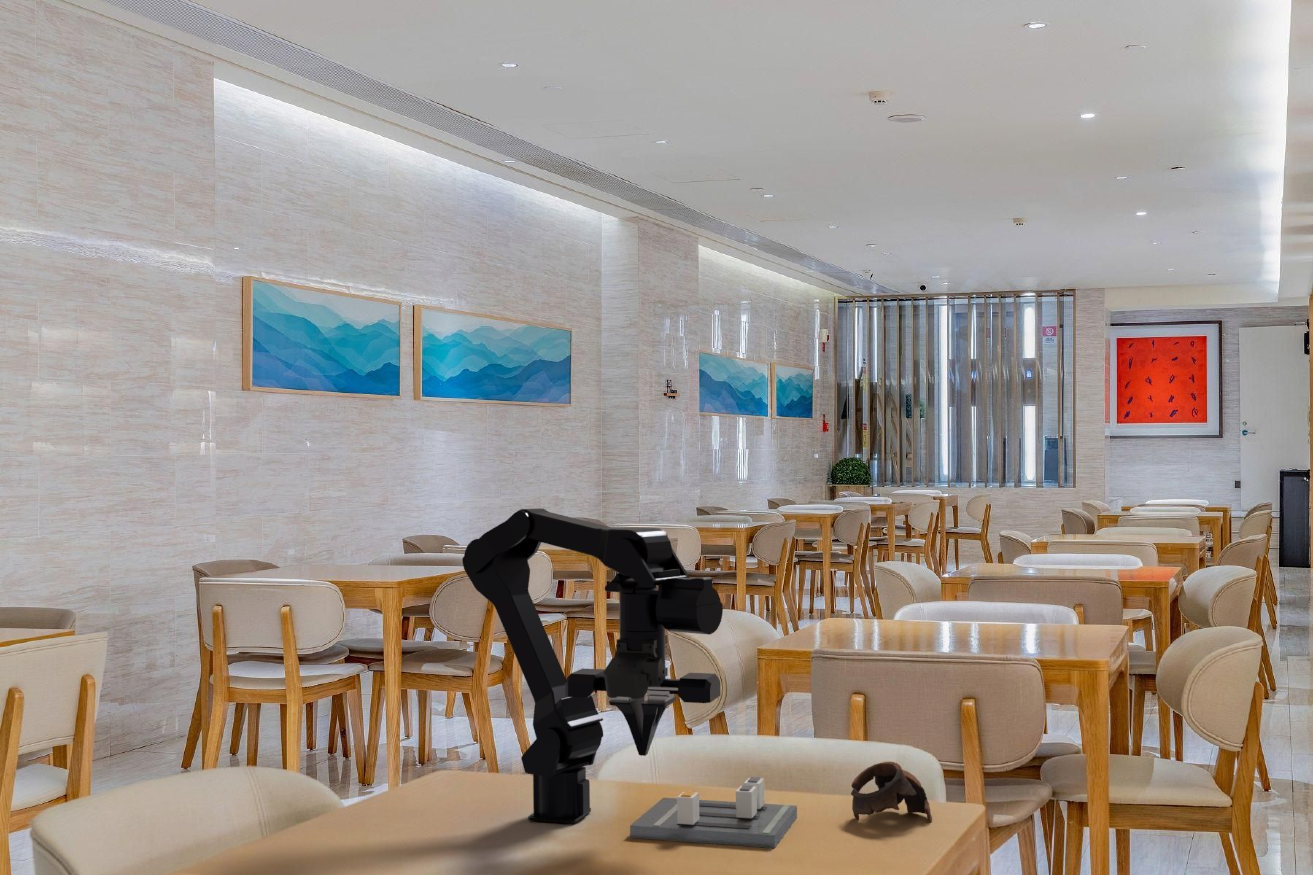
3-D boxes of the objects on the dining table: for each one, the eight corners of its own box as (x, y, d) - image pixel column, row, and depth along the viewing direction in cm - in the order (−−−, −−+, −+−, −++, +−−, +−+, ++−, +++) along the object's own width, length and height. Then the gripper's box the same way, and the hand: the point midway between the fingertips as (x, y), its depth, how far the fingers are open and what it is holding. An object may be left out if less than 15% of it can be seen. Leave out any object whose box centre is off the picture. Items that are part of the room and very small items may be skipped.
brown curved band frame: (943, 833, 156) (914, 779, 154) (875, 864, 157) (844, 811, 156) (927, 785, 168) (900, 734, 166) (863, 815, 169) (835, 765, 167)
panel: (630, 837, 154) (630, 824, 154) (663, 808, 167) (663, 796, 168) (774, 847, 149) (774, 834, 149) (797, 817, 162) (796, 804, 162)
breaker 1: (677, 823, 154) (677, 795, 154) (683, 817, 156) (683, 789, 156) (693, 824, 153) (692, 796, 153) (699, 818, 156) (698, 790, 156)
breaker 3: (736, 817, 156) (735, 789, 156) (741, 811, 159) (740, 784, 159) (752, 818, 155) (751, 790, 155) (756, 812, 158) (756, 785, 158)
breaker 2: (744, 807, 160) (744, 781, 160) (749, 802, 163) (749, 776, 163) (759, 808, 160) (759, 781, 160) (764, 803, 162) (764, 776, 162)
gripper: (548, 634, 152) (549, 765, 152) (697, 639, 147) (698, 774, 146) (580, 624, 163) (581, 745, 162) (720, 628, 157) (722, 753, 157)
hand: (643, 754), depth 157 cm, fingers closed
